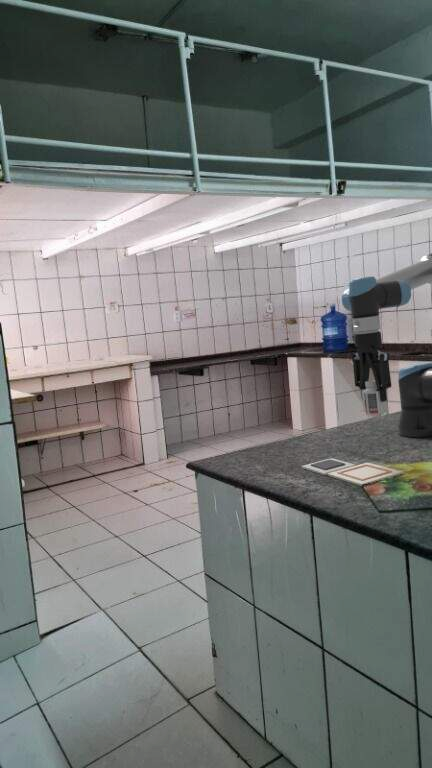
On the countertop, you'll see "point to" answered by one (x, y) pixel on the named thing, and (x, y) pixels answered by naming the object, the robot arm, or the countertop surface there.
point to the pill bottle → (371, 398)
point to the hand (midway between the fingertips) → (375, 411)
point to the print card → (364, 473)
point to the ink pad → (327, 466)
